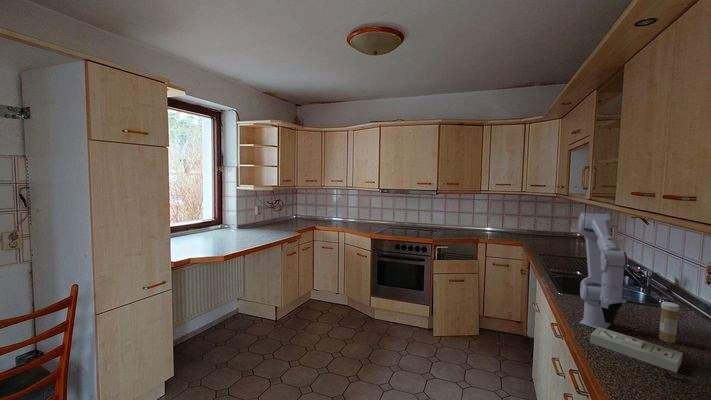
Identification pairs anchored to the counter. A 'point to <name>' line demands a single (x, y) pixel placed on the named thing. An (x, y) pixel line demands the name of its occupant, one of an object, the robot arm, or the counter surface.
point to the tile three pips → (608, 335)
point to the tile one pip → (634, 342)
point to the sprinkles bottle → (668, 322)
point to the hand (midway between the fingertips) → (609, 322)
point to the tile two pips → (662, 352)
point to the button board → (637, 350)
